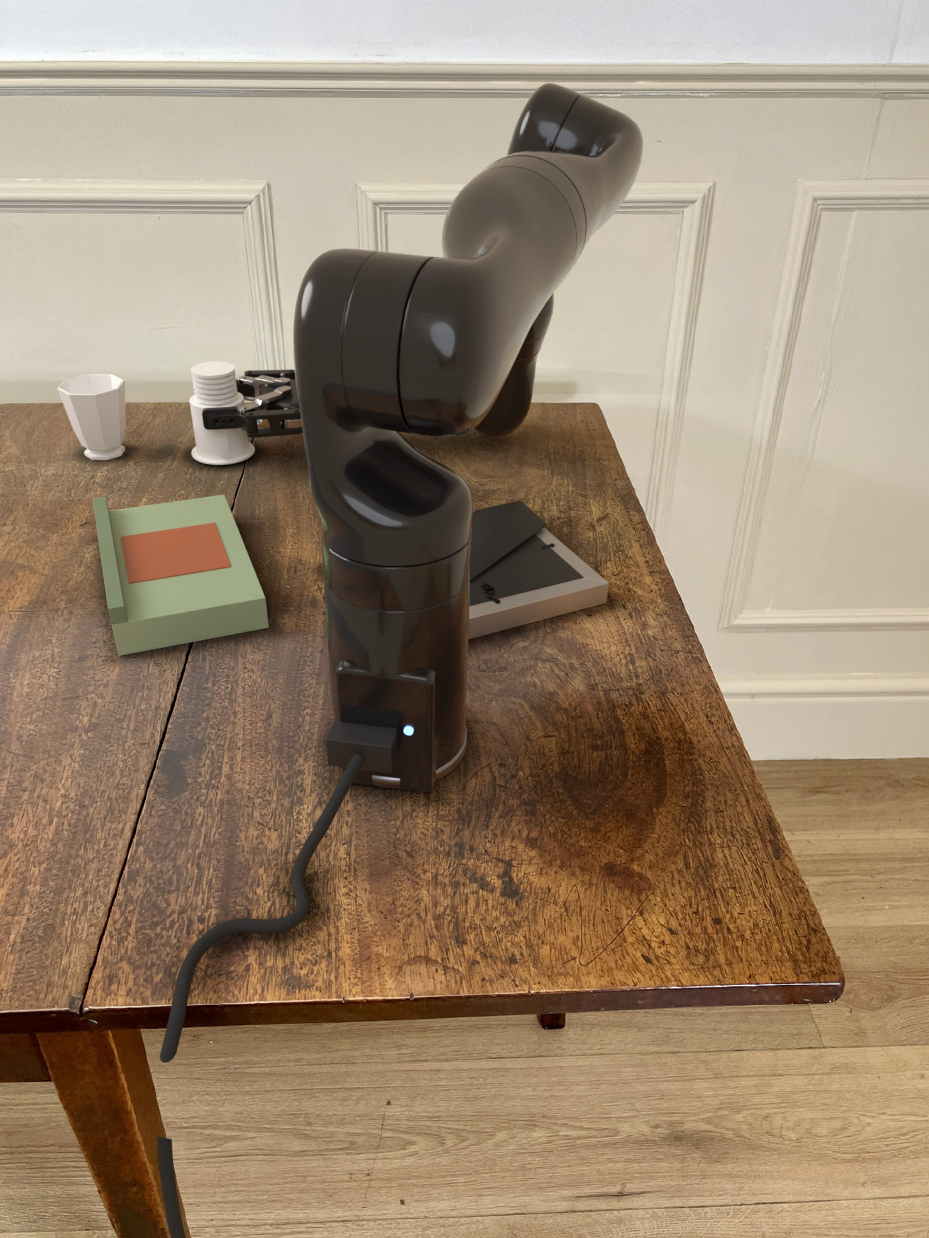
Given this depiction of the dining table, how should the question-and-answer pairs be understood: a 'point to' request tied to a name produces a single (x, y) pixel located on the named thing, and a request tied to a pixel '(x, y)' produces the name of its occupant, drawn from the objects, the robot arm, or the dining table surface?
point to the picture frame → (524, 572)
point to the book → (176, 574)
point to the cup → (96, 413)
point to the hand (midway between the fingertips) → (204, 404)
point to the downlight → (211, 391)
